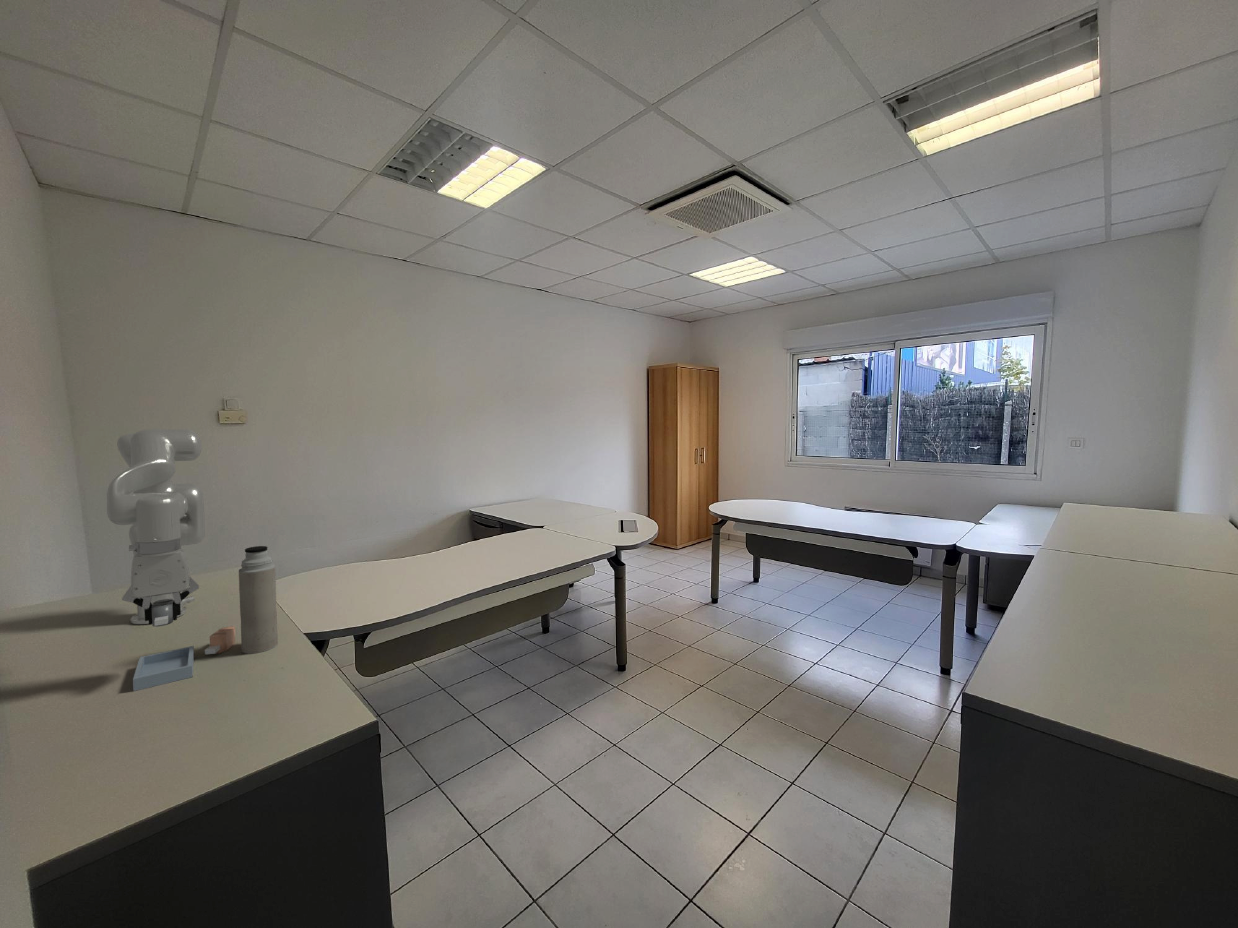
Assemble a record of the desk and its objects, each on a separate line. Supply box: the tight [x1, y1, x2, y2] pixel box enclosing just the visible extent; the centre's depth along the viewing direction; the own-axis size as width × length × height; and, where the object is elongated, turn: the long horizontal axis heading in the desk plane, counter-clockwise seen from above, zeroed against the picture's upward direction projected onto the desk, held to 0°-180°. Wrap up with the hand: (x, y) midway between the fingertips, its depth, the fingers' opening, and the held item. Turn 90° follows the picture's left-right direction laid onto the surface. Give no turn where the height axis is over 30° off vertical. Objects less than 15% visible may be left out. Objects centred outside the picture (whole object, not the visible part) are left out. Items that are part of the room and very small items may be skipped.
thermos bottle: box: [238, 545, 279, 655], centre depth 130 cm, size 8×8×28 cm
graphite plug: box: [151, 599, 174, 628], centre depth 114 cm, size 10×4×4 cm, turn 41°
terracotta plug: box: [204, 626, 236, 655], centre depth 129 cm, size 10×4×4 cm, turn 15°
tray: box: [132, 645, 195, 692], centre depth 116 cm, size 14×10×3 cm
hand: (163, 619), depth 116 cm, fingers closed on graphite plug, 3 cm apart
